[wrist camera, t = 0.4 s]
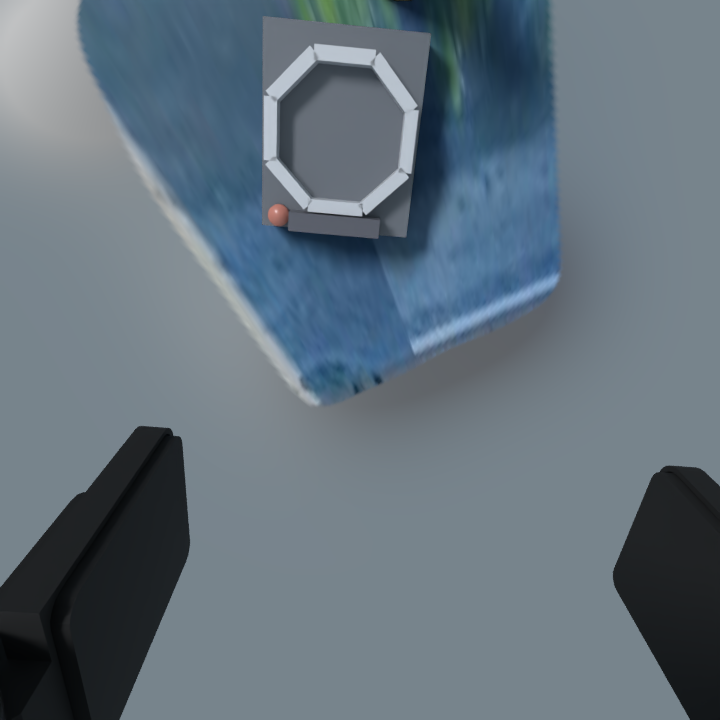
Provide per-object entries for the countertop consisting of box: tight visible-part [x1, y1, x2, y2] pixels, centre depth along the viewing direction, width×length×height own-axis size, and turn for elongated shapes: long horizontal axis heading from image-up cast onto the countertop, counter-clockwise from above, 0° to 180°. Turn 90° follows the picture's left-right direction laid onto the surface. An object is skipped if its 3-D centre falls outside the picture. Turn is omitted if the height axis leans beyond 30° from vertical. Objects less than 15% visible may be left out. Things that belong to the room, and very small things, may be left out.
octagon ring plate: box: [262, 16, 431, 239], centre depth 31 cm, size 12×10×4 cm
